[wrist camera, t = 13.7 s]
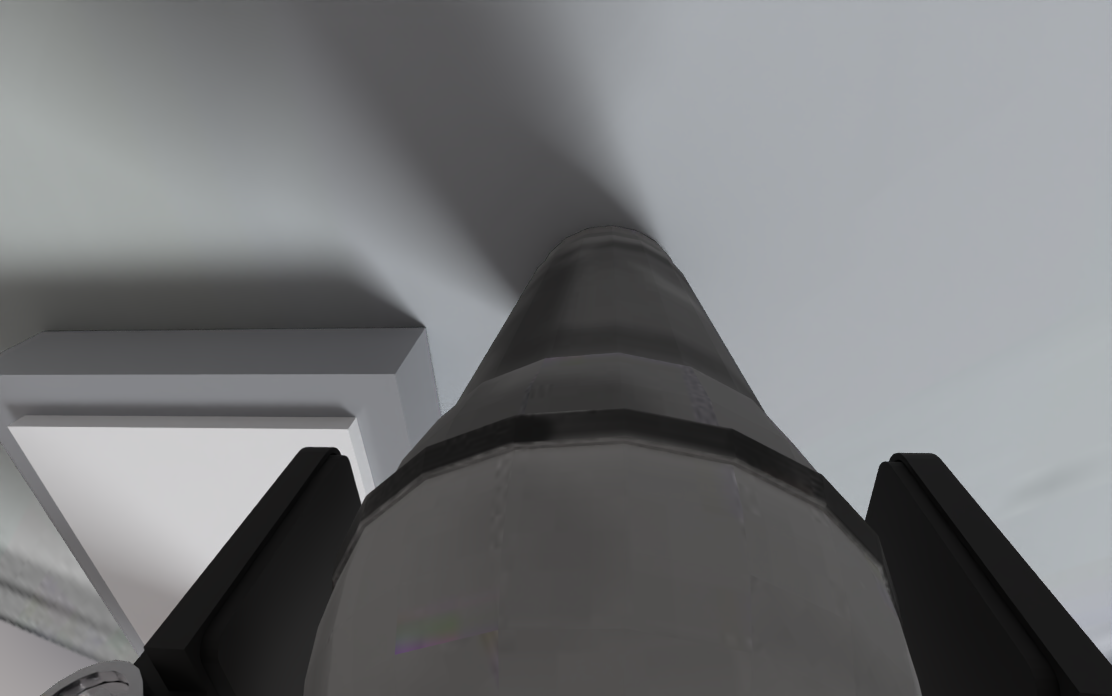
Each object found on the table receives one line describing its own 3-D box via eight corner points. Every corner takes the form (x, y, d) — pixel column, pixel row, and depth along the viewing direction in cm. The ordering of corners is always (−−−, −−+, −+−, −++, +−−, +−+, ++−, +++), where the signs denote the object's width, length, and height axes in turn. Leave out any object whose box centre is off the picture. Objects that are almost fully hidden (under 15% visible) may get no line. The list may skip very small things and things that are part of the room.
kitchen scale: (25, 331, 20) (-84, 385, 17) (425, 327, 19) (387, 385, 15) (215, 672, 29) (167, 748, 26) (490, 687, 28) (475, 769, 25)
